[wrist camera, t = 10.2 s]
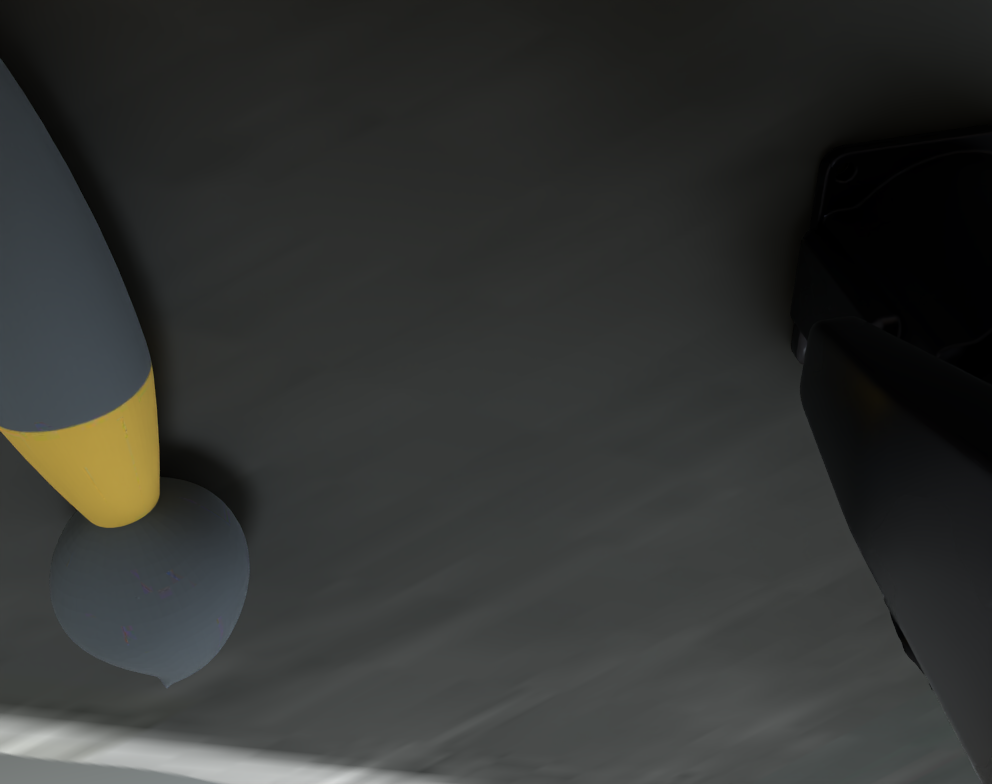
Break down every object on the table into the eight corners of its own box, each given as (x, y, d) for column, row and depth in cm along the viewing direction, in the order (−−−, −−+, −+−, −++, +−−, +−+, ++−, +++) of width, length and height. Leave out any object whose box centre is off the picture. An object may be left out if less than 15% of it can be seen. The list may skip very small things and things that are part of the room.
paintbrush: (-290, -13, 17) (-453, 98, 14) (-22, -71, 18) (-111, 23, 14) (144, 617, 30) (121, 764, 27) (296, 583, 30) (295, 723, 27)
